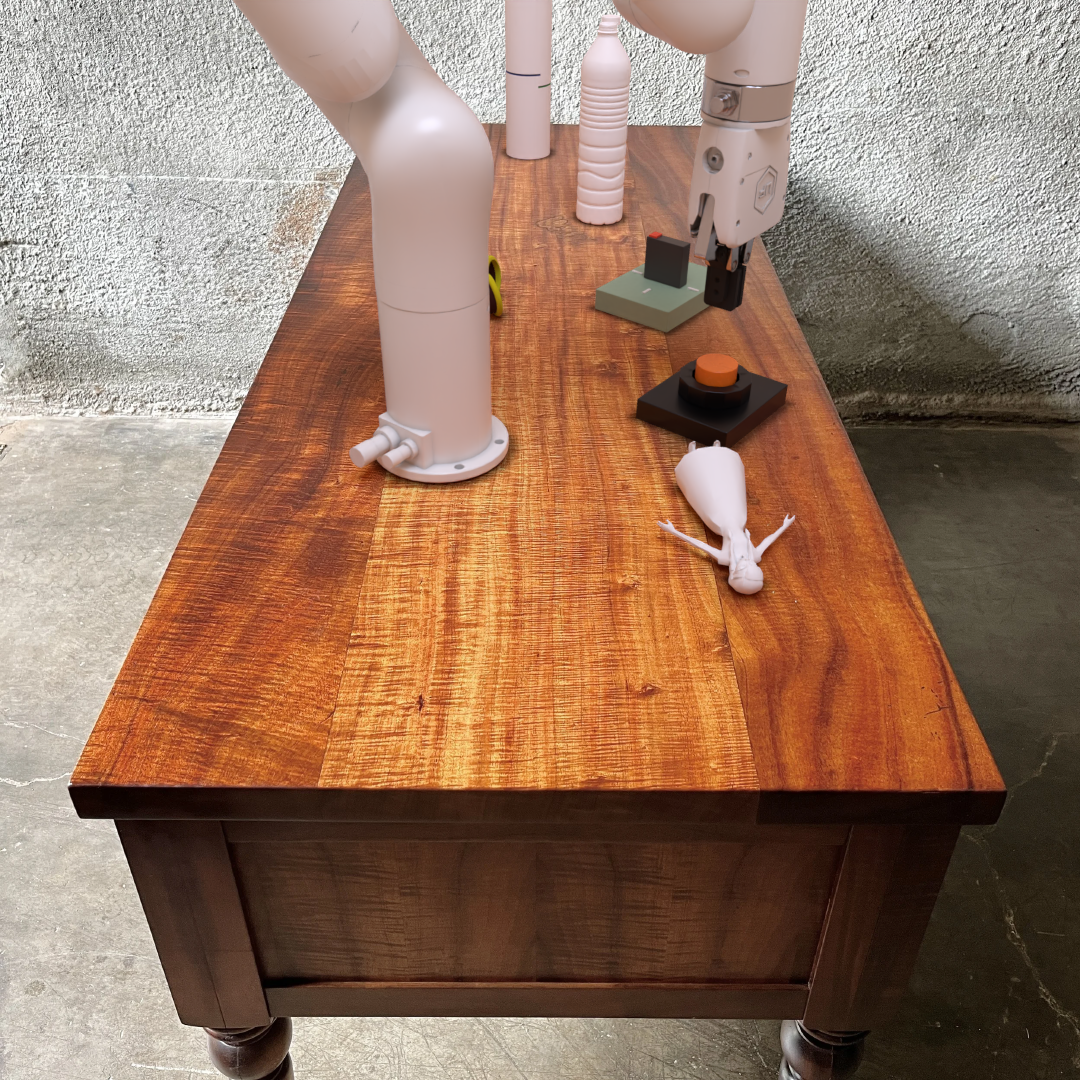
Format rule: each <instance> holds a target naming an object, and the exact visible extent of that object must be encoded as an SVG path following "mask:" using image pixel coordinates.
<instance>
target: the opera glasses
mask: <svg viewBox="0 0 1080 1080" xmlns="http://www.w3.org/2000/svg"><path fill="white" fill-rule="evenodd" d="M488 261H489V301H490V315H491V314H494V315H495V316H496V317H500V316H502V314H503V312H504V303H503V299H502V295H501V288H502V270H501V267H500V266H501V265H500V263H499V261H498V259H497V258H496V257H495V256H494V255H492V254H491V255H489V254H488Z"/></svg>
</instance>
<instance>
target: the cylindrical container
mask: <svg viewBox="0 0 1080 1080" xmlns="http://www.w3.org/2000/svg"><path fill="white" fill-rule="evenodd" d="M552 35H553V0H504V42H505V43H504V44H505V45H504V48H505V49H504V50H505V52H504V53H505V56H504V57H505V140H506V141H505V144H506V145H505V146H506V149H505V150H506V151H505V152H506V155H507V156H509V157H511V158H513V159H518V160H538V159H543V158H546V157H548V156H550V153H551V110H552V109H551V107H552V106H551V105H552V102H551V101H552V48H553V47H552V45H553V44H552V43H553V41H552V40H553V36H552Z"/></svg>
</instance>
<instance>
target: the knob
mask: <svg viewBox="0 0 1080 1080" xmlns="http://www.w3.org/2000/svg"><path fill="white" fill-rule="evenodd" d="M690 254H691V242H688V241H686V240H685V241H684V240H682V239H678V238H674V237H670V236H666V235H663V233H662V232H659V231H653V232H651V233H649V234H648V235H647V236H646V243H645V254H644V256H645V257H644V263H645V267H644V278H647V279H650V280H654V281H657V282H660V283H663V284H666V285H670V286H673V287H676V288H681V287H683V286H684V285H686V284H687V274H688V264H689V262H690Z"/></svg>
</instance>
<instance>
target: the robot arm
mask: <svg viewBox="0 0 1080 1080" xmlns="http://www.w3.org/2000/svg"><path fill="white" fill-rule="evenodd" d="M232 1H233V3H234V4H235V6H236V7H237V8H238V9H239V11H240V12H241V13H242V14H243V16H244V17H245V18H246V19H247V21H248V22H249V23H250V24H251V26H252V27H253V28H254V29H255V31H256V33H258V35H259V36H260V38H261V39H262V40H263V42H264V43H265V45H266V47H267V49H268V51H269V53H270V55H271V56H272V58H273V60H274V61H275V62H276V64H277V66H278V67H279V68H280V69H281V71H283V73H284V74H285V75H286V76H287V77H288V78H289V79H290V80H291V81H292V82H293V83H295V84H296V85H297V86H299V88H301V89H302V90H303V91H304V92H305V93H306V94H307V96H308V97H309V99H311V101H312V102H313V103H314V104H315V106H316V107H317V108H318V109H319V111H320V112H321V113H322V114H323V116H324V117H325V118H326V119H327V121H329V123H330V124H331V125H332V127H333V128H334V130H336V132H337V133H338V134H339V135H340V136H341V138H342V139H343V140H344V142H345V143H346V144H347V145H348V146H349V148H350V149H351V150H352V152H353V153H354V154H355V156H356V157H357V159H358V160H359V162H360V165H361V167H362V169H363V171H364V172H365V175H366V177H367V180H368V187H369V193H370V194H369V195H370V202H371V243H372V244H371V247H372V260H373V261H372V263H373V275H374V276H373V277H374V289H375V295H376V305H377V316H378V327H379V338H380V339H379V340H380V349H381V351H380V352H381V362H382V372H383V383H384V394H385V406H386V407H385V408H386V411H385V412H383V413H381V414H379V415H378V425H379V426H378V427H377V428H376V429H375V431H374V433H373V434H372V435H373V436H372V437H370V438H368V439H366V440H364V441H361V442H360V443H358V444H356V445H354V446H353V447H351V448H350V449H349V451H348V453H349V458H350V460H351V462H352V463H353V464H354V466H356V467H357V468H360V469H362V468H365V467H366V466H367V465H369V464H371V463H373V462H374V461H377V463H378V464H379V465H380V466H381V467H382V468H383V469H385V470H386V471H388V472H390V473H391V474H392V475H393V474H394V475H396V476H398V477H400V478H402V479H407V480H410V481H414V482H421V483H432V484H434V483H435V484H441V483H442V484H443V483H454V482H460V481H465V480H469V479H472V478H475V477H478V476H480V475H483V474H485V473H487V472H489V471H490V470H492V469H494V468H495V467H497V466H498V465H499V464H500V463H501V462H502V461H503V460H504V459H505V457H506V456H507V454H508V450H509V447H510V438H509V437H510V434H509V432H508V429H507V427H506V426H505V424H504V423H503V421H501V420H500V419H499V418H498V417H497V416H495V415H494V414H493V413H492V410H493V409H492V407H493V406H492V358H491V356H492V355H491V314H490V301H489V261H488V256H489V248H490V247H489V243H490V226H491V215H492V207H493V206H492V205H493V197H494V186H495V164H494V156H493V151H492V146H491V143H490V139H489V137H488V135H487V132H486V130H485V128H484V126H483V124H482V123H481V121H480V119H479V117H478V116H477V115H476V113H475V112H474V111H473V109H472V108H471V107H470V106H469V105H468V103H467V102H465V101H464V100H463V98H461V96H459V95H458V94H457V93H456V92H455V91H454V90H453V89H452V88H451V87H449V86H448V85H447V84H446V83H445V82H444V80H443V79H442V78H441V77H440V75H439V74H438V73H437V71H436V70H435V69H434V67H433V66H432V65H431V63H430V62H429V61H428V60H427V57H426V56H425V55H424V54H423V52H422V51H421V49H420V48H419V46H418V45H417V44H416V43H415V41H414V39H413V38H412V36H411V35H410V34H409V32H408V31H407V30H406V28H405V27H404V25H403V24H402V22H401V21H400V19H399V18H398V16H397V15H396V12H395V8H394V5H393V4H392V2H391V0H232ZM611 2H612V4H613V6H614V7H615V9H616V11H617V12H618V14H619V15H620V16H621V18H623V19H624V20H625V21H627V22H628V23H629V24H630V25H632V26H633V27H635V28H637V29H639V30H641V31H642V32H644V33H646V34H648V35H649V36H652V37H654V38H656V39H658V40H660V41H662V42H664V43H666V44H667V45H670V47H673V48H675V49H677V50H679V51H681V52H683V53H686V54H690V55H705V61H704V71H703V72H704V74H703V80H702V81H703V82H702V92H701V104H700V112H699V113H700V114H699V115H700V118H701V119H702V122H701V125H700V131H699V135H698V139H697V145H696V149H695V155H694V160H693V167H692V173H691V179H690V187H689V195H688V202H687V203H688V204H687V213H686V215H687V216H686V229H687V233H688V235H689V237H690V238H692V239H696V242H695V245H694V251H693V257H694V258H695V259H700V260H703V261H704V265H706V267H707V273H706V282H705V291H704V303H705V304H707V305H710V306H709V307H714V308H716V309H720V310H724V311H726V312H733V311H734V310H736V309H737V308H739V307H740V306H742V304H743V297H744V289H745V282H746V276H747V267H748V266H747V264H749V262H750V260H751V255H752V251H753V246H754V241H755V239H756V237H758V236H760V235H762V234H763V233H766V232H767V231H768V230H770V229H772V228H773V227H775V226H776V225H777V224H779V222H780V221H781V220H782V218H783V216H784V210H785V203H786V197H787V187H788V178H789V168H790V167H789V166H790V155H791V154H790V153H791V140H792V139H791V131H792V130H791V129H792V127H791V125H792V124H791V123H792V121H791V119H792V112H793V106H794V105H793V104H794V98H795V91H796V85H797V77H798V72H799V65H800V58H801V52H802V51H801V50H802V43H803V37H804V30H805V24H806V17H807V10H808V9H807V8H808V3H809V0H611Z"/></svg>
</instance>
